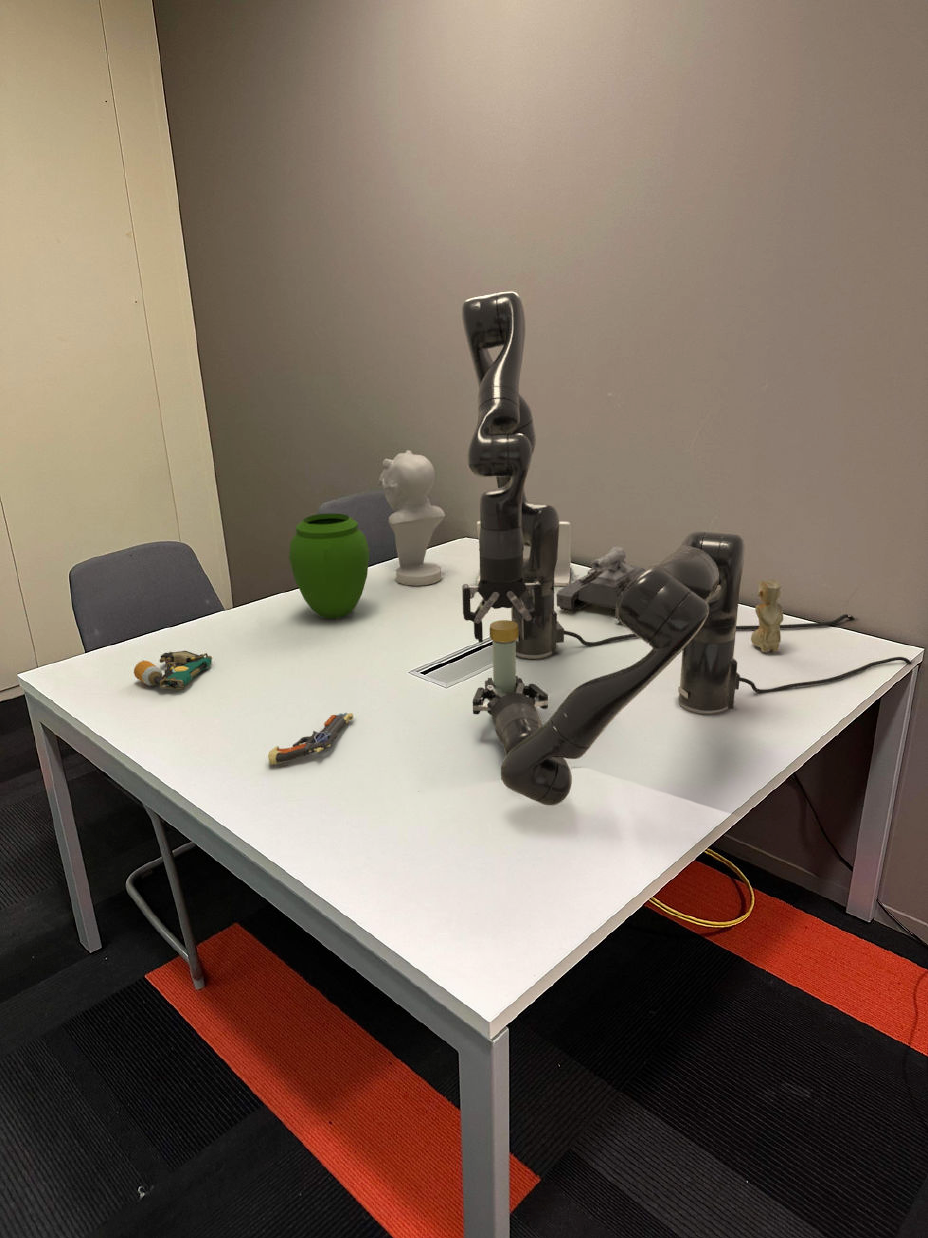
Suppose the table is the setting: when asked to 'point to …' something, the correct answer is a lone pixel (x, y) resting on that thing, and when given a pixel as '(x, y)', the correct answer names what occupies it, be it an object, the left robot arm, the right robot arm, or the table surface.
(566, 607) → the toy
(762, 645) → the sculpture
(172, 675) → the spray gun
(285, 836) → the table surface
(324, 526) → the vase
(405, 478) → the bust sculpture
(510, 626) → the lid
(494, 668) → the jar
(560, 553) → the tablet stand
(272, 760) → the toy gun
